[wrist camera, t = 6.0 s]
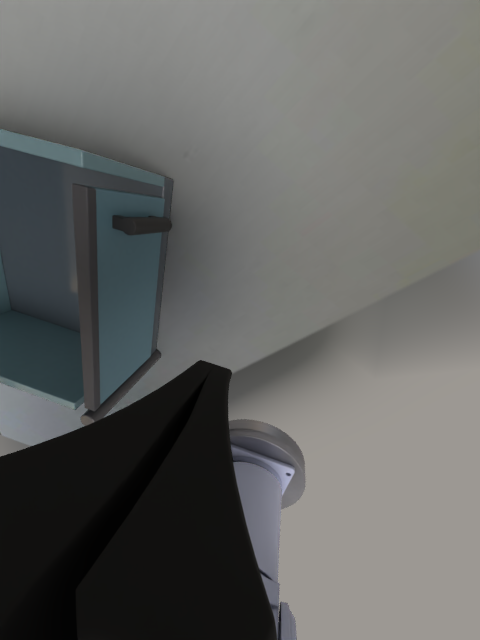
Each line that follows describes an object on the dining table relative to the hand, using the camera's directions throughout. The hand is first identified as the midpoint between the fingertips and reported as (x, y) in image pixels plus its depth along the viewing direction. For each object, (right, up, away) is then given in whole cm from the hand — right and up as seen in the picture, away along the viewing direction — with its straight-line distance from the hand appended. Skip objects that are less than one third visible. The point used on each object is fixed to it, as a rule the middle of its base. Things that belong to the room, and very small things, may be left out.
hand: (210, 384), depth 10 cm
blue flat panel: (-5, +5, +8) cm, 10 cm away
